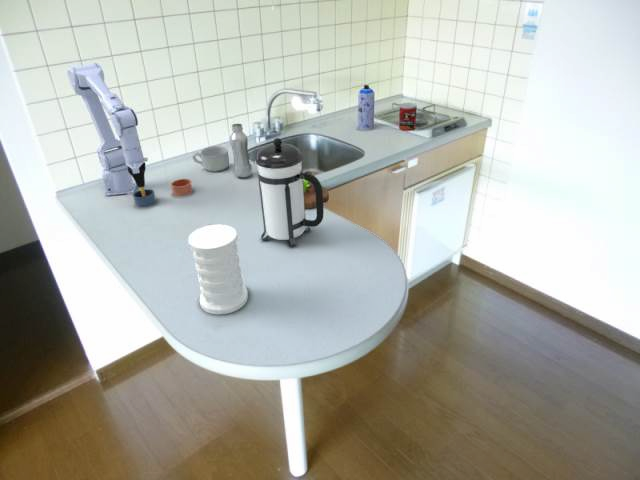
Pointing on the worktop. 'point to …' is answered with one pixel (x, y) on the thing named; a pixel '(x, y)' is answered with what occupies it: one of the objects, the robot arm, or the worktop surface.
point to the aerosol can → (366, 109)
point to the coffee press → (285, 192)
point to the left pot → (144, 198)
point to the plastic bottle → (240, 151)
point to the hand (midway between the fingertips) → (141, 185)
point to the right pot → (181, 187)
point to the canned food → (407, 116)
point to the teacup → (213, 158)
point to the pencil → (143, 191)
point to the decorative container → (218, 268)
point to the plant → (312, 193)
